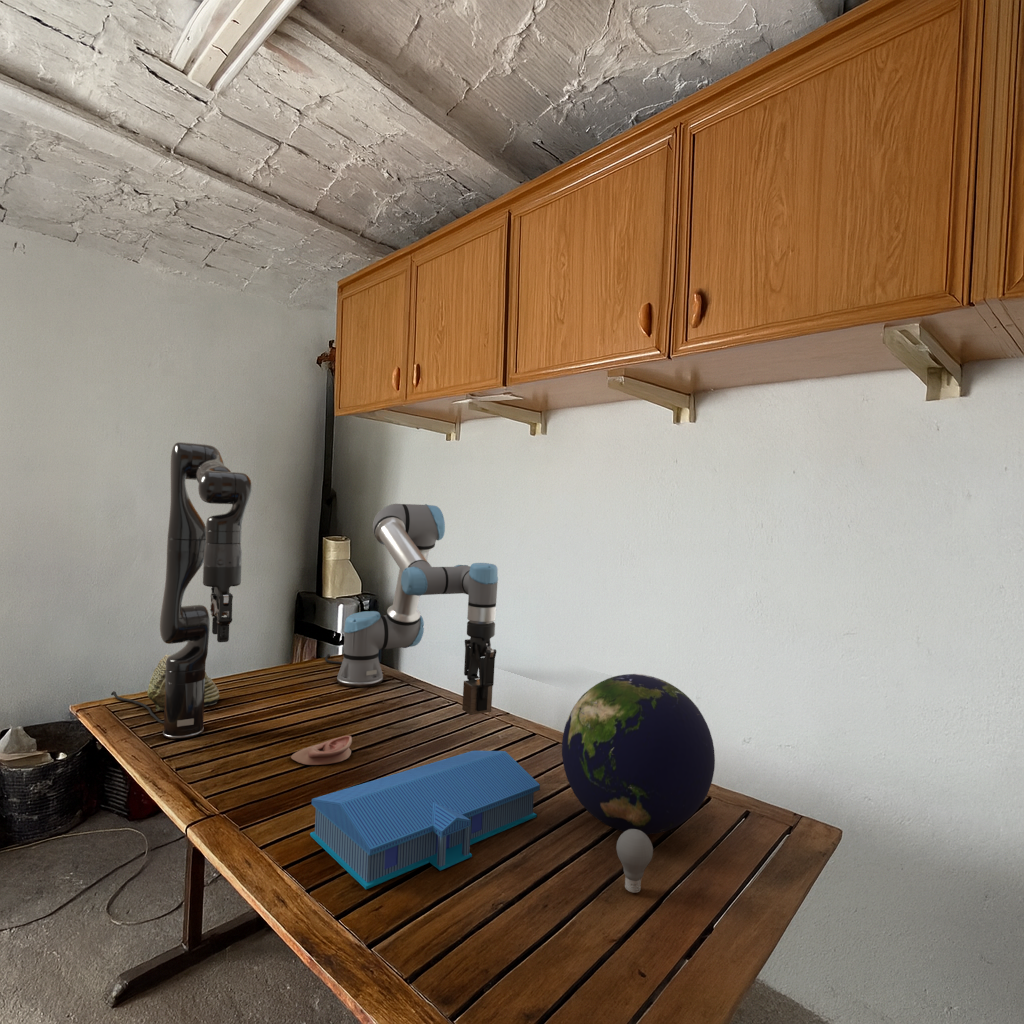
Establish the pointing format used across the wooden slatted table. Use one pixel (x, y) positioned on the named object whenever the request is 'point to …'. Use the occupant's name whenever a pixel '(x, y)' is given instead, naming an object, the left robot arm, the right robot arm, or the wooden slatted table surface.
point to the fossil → (158, 687)
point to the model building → (423, 815)
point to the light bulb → (634, 857)
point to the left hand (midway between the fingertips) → (220, 637)
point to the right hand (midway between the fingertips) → (476, 706)
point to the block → (474, 697)
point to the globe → (638, 754)
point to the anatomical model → (325, 752)
